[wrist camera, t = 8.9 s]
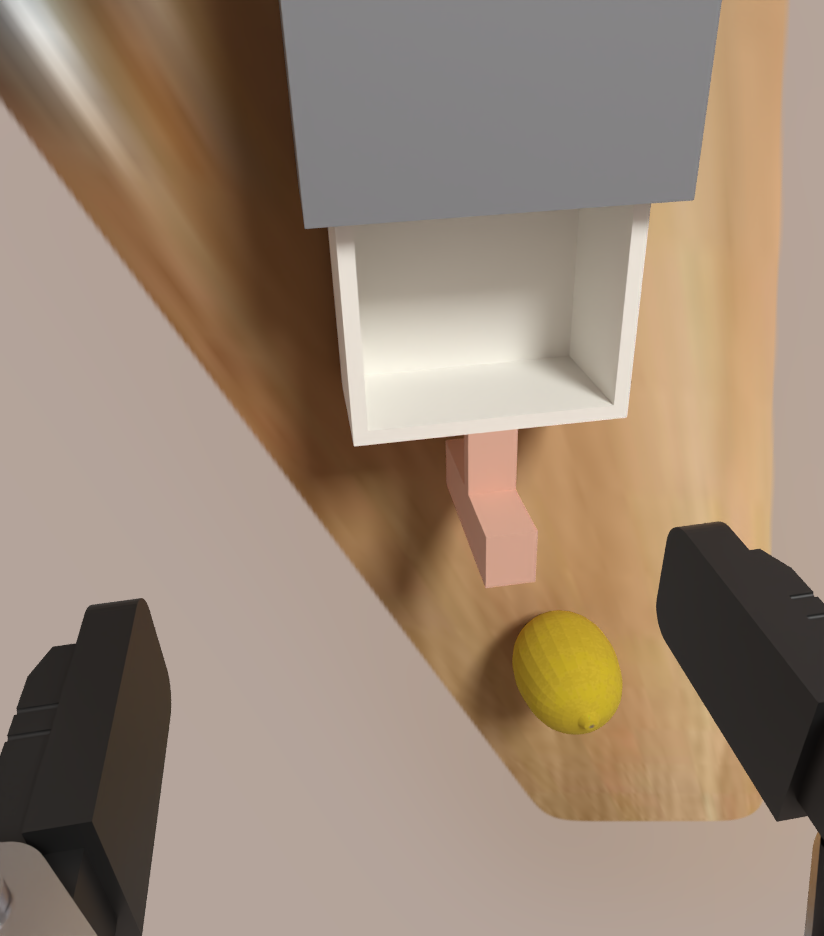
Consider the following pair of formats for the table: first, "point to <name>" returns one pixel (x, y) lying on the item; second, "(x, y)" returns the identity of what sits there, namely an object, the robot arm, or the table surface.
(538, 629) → the lemon
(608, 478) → the table surface
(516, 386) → the drawer
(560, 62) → the sleeve
